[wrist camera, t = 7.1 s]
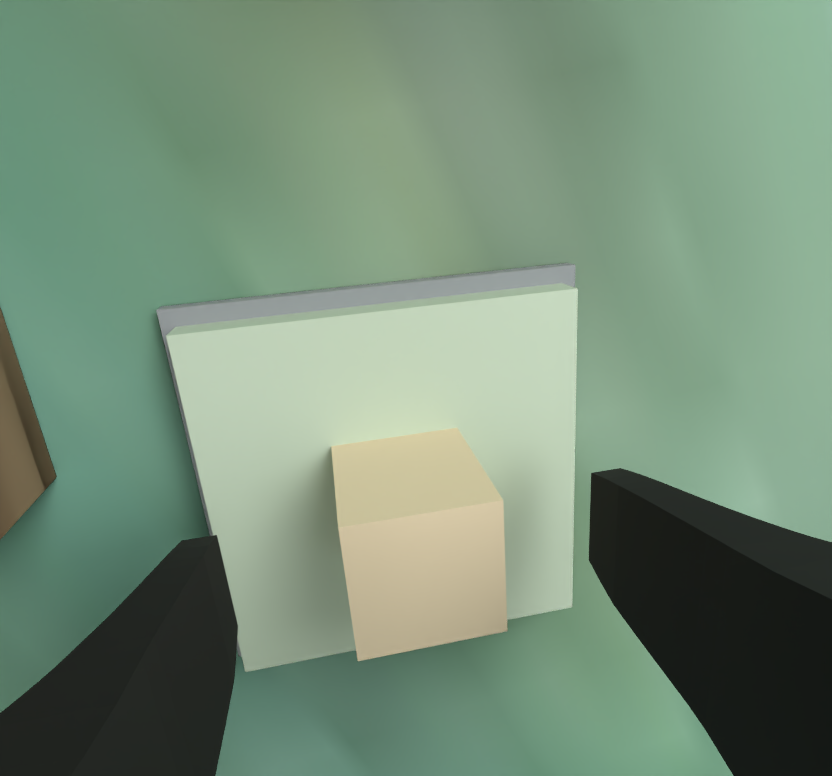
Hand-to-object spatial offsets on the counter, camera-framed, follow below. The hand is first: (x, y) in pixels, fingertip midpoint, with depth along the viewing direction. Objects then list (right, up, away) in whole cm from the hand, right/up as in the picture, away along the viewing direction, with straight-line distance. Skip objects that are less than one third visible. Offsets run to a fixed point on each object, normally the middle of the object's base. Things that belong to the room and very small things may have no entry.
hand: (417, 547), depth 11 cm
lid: (-1, +1, +3) cm, 3 cm away
